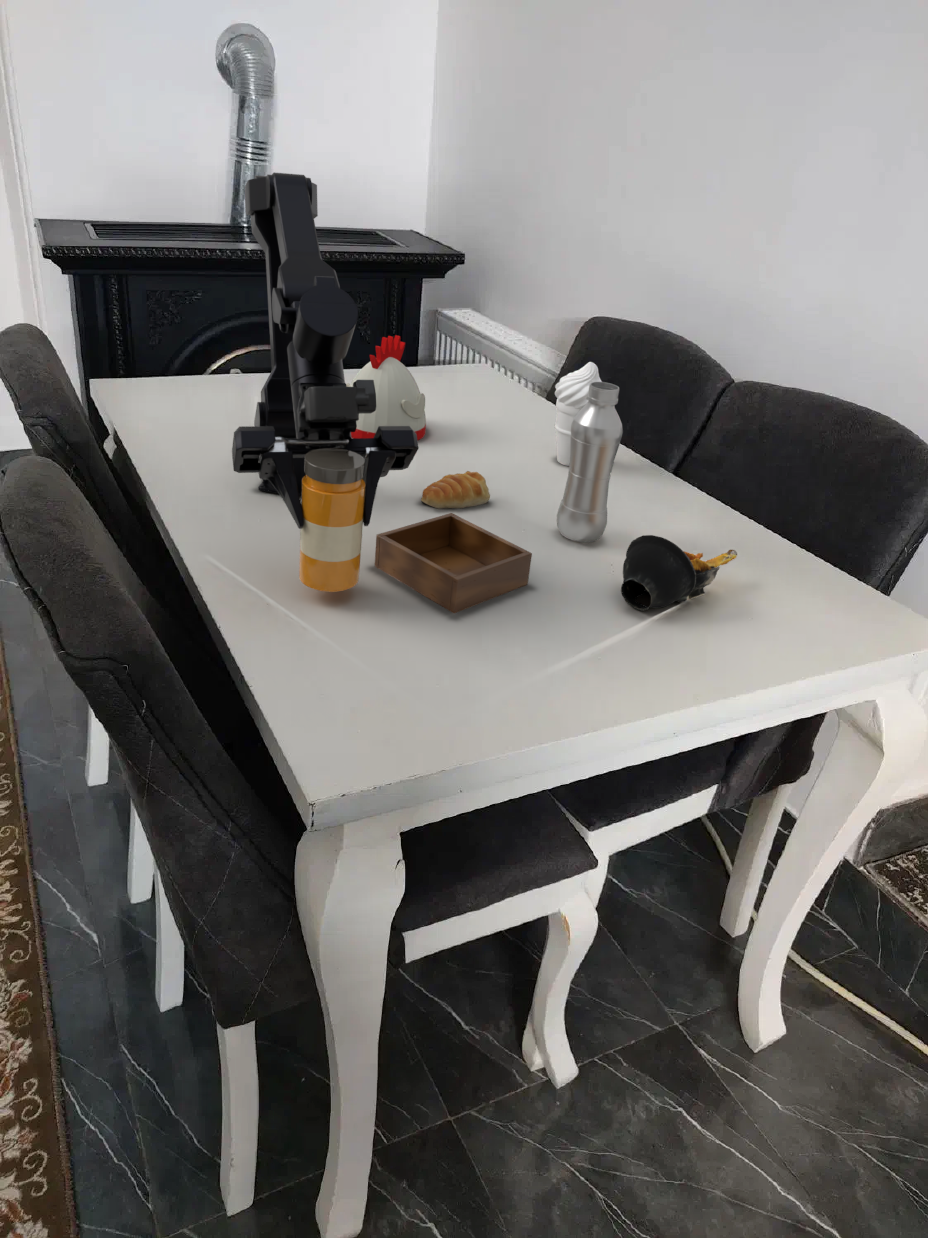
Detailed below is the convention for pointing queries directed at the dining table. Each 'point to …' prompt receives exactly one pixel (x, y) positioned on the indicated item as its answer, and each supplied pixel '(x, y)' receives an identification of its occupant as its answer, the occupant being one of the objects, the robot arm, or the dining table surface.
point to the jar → (331, 519)
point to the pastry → (457, 491)
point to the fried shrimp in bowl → (666, 572)
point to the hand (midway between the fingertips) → (334, 526)
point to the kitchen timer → (391, 392)
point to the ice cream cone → (571, 405)
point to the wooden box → (452, 561)
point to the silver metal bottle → (590, 465)
